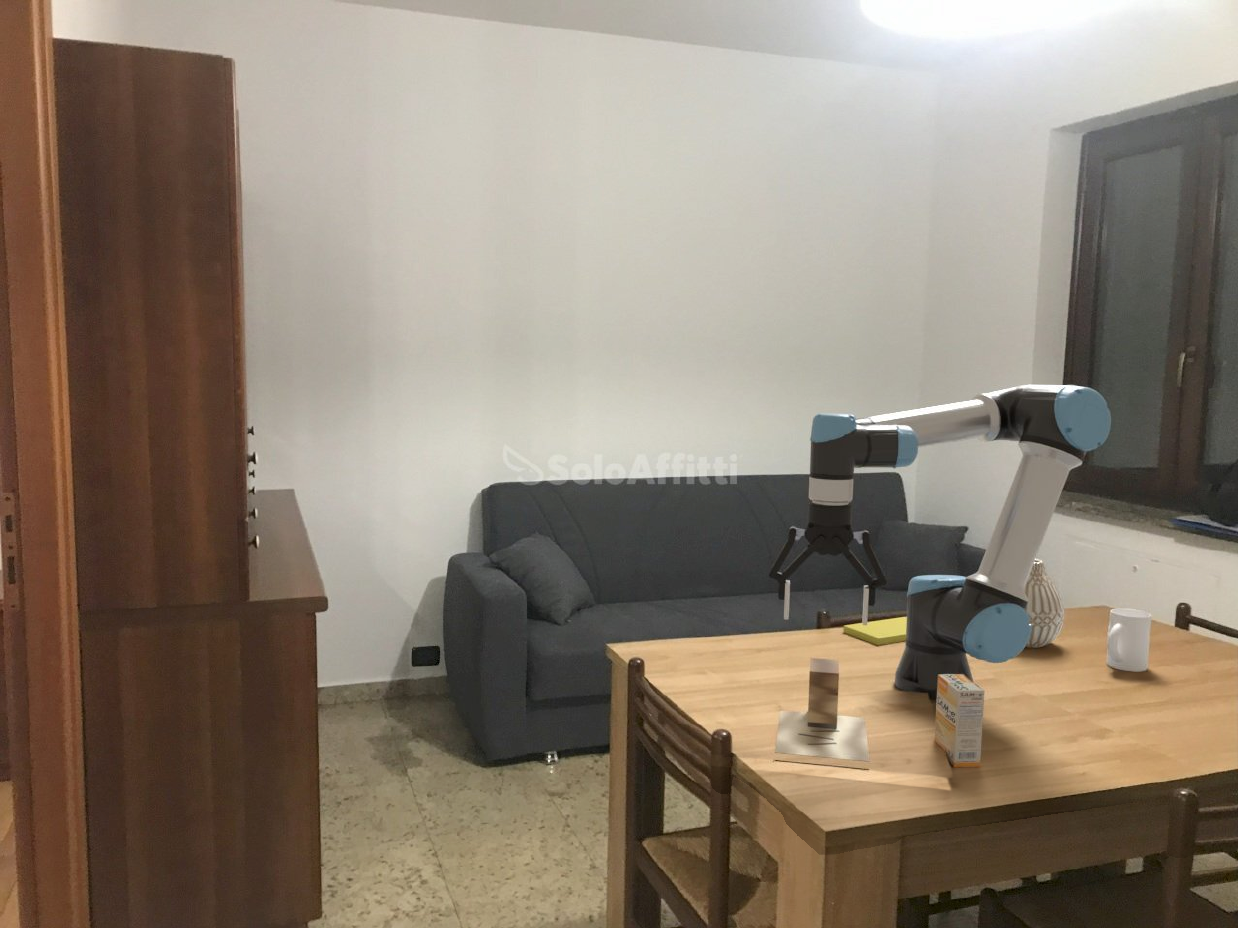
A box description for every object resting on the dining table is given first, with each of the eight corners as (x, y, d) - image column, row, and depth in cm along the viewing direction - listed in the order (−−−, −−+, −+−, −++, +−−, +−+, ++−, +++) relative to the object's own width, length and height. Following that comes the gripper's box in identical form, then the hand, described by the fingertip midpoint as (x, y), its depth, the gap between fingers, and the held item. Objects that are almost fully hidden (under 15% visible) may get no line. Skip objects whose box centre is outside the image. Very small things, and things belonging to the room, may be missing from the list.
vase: (1074, 653, 224) (1080, 567, 221) (1004, 652, 224) (1009, 566, 222) (1045, 634, 239) (1050, 553, 237) (979, 632, 240) (984, 552, 238)
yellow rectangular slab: (878, 647, 228) (952, 635, 239) (878, 638, 227) (952, 626, 239) (843, 634, 238) (915, 623, 250) (843, 625, 238) (916, 615, 249)
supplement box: (932, 747, 167) (936, 673, 165) (959, 747, 167) (963, 673, 166) (952, 767, 158) (957, 689, 157) (981, 767, 159) (985, 689, 157)
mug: (1088, 667, 213) (1092, 613, 212) (1117, 658, 220) (1120, 606, 219) (1126, 677, 207) (1130, 621, 205) (1154, 667, 214) (1158, 614, 212)
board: (864, 725, 176) (864, 717, 176) (868, 770, 157) (869, 760, 157) (780, 718, 179) (780, 709, 179) (774, 760, 160) (775, 751, 160)
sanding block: (836, 713, 178) (838, 659, 177) (836, 729, 170) (838, 673, 169) (808, 710, 179) (810, 657, 178) (807, 726, 171) (809, 671, 170)
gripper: (902, 502, 172) (896, 620, 174) (759, 495, 177) (755, 610, 179) (905, 508, 165) (899, 631, 167) (757, 501, 170) (752, 620, 172)
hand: (825, 620), depth 173 cm, fingers open, 13 cm apart
